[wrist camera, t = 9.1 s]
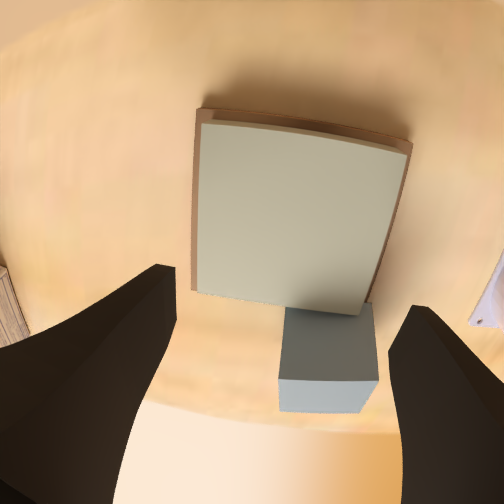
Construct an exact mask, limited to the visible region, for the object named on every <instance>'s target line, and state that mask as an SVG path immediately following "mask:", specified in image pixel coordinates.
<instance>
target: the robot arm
mask: <svg viewBox="0 0 504 504" xmlns="http://www.w3.org/2000/svg"><path fill="white" fill-rule="evenodd" d="M480 318H482V320H481V321H480V322H477V321H478V320H479V319H480ZM176 320H177V315H176V279H175V267H171V266H166V265H160V264H155V265H153V266H151V267H150V268H148V269H147V270H145V271H144V272H142V273H141V274H139V275H138V276H136V277H135V278H133V279H132V280H130V281H129V282H127V283H126V284H124V285H123V286H121V287H120V288H118V289H117V290H115V291H114V292H112V293H111V294H109V295H108V296H106V297H104V298H103V299H101V300H99V301H98V302H96V303H94V304H93V305H91V306H89V307H88V308H86V309H85V310H83V311H81V312H80V313H78V314H76V315H74V316H73V317H71V318H69V319H67V320H65V321H63V322H61V323H59V324H57V325H55V326H53V327H51V328H49V329H47V330H45V331H43V332H40V333H38V334H35V335H33V336H30V337H28V338H26V339H23V340H21V341H18V342H16V343H13V344H10V345H8V346H5V347H2V348H0V504H113V498H114V493H115V488H116V484H117V480H118V475H119V471H120V467H121V463H122V460H123V456H124V452H125V449H126V445H127V442H128V438H129V435H130V432H131V429H132V426H133V423H134V420H135V417H136V414H137V411H138V409H139V407H140V404H141V402H142V400H143V398H144V396H145V393H146V391H147V389H148V387H149V385H150V383H151V381H152V379H153V377H154V375H155V372H156V370H157V368H158V366H159V364H160V362H161V360H162V358H163V356H164V354H165V351H166V349H167V347H168V344H169V341H170V338H171V335H172V332H173V329H174V326H175V323H176ZM468 323H469V325H470V326H478V327H491V328H500V329H501V330H502V332H503V334H504V249H503V252H502V254H501V256H500V259H499V261H498V263H497V265H496V267H495V269H494V272H493V274H492V276H491V278H490V280H489V282H488V284H487V286H486V288H485V290H484V292H483V294H482V295H481V297H480V299H479V301H478V303H477V305H476V307H475V308H474V310H473V312H472V314H471V316H470V317H469V319H468ZM388 356H389V371H390V380H391V386H392V391H393V396H394V401H395V406H396V412H397V417H398V423H399V428H400V434H401V442H402V453H403V454H402V455H403V481H402V498H401V504H504V383H503V382H502V381H501V380H499V379H498V378H497V377H496V376H495V375H494V374H493V373H492V372H491V371H490V370H489V369H488V368H487V367H486V366H485V365H484V364H483V363H482V361H481V360H480V359H479V358H478V357H477V356H476V355H475V354H474V353H473V352H472V351H471V350H470V349H469V348H468V347H467V345H466V344H465V343H464V342H463V341H462V340H461V339H460V338H459V337H458V336H457V335H456V334H455V333H454V332H453V330H452V329H451V328H450V327H449V326H448V325H447V324H446V323H445V322H444V321H443V320H442V319H441V318H440V317H439V316H438V315H437V314H436V313H435V312H434V311H432V310H431V309H430V308H429V307H425V306H417V305H412V306H411V308H410V310H409V312H408V314H407V316H406V318H405V320H404V322H403V324H402V326H401V328H400V330H399V332H398V334H397V336H396V338H395V339H394V341H393V343H392V345H391V347H390V349H389V350H388Z"/></svg>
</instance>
